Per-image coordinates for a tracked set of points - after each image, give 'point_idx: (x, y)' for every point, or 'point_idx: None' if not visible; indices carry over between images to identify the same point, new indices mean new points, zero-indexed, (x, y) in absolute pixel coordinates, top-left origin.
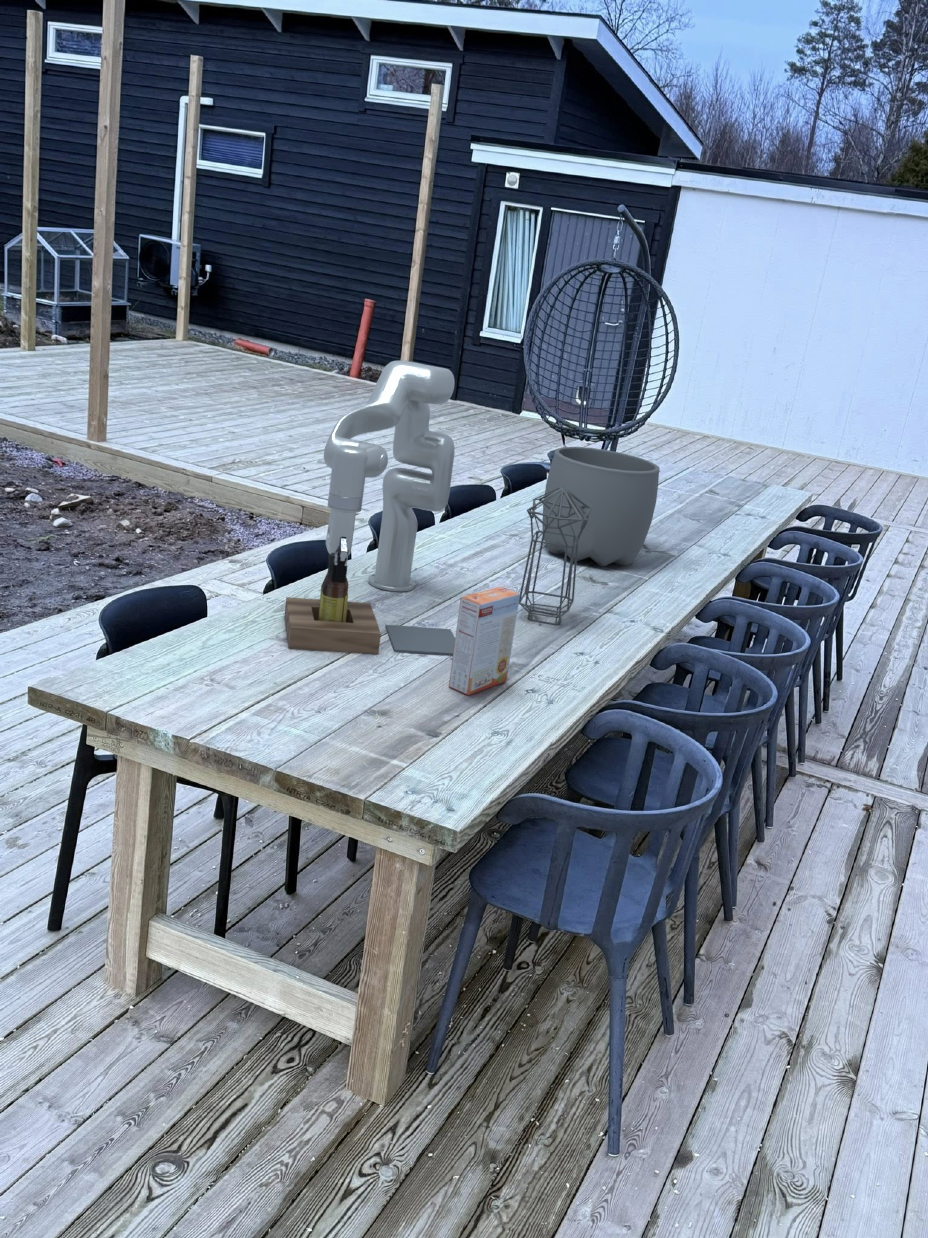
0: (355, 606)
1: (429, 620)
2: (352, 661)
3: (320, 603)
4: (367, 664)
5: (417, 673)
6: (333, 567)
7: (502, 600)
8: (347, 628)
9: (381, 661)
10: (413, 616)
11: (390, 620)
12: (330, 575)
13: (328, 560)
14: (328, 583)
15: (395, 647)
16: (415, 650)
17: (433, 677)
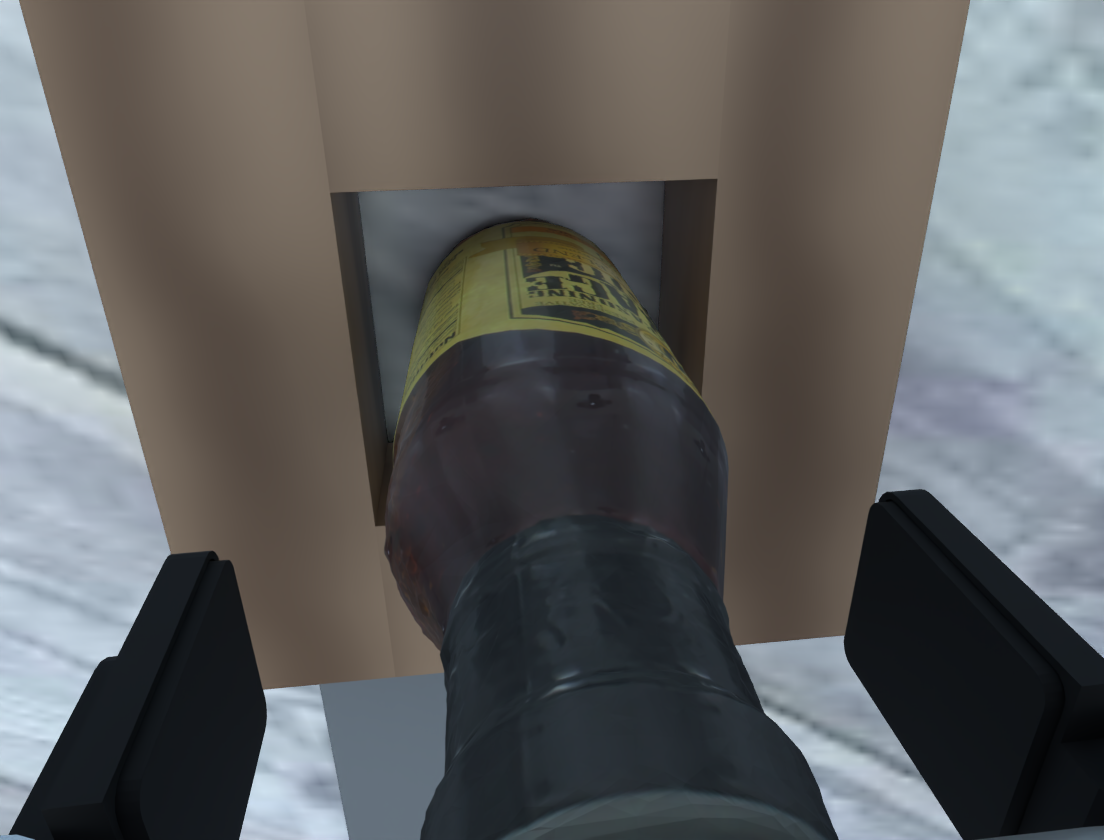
0: (770, 541)
1: (850, 816)
2: (45, 441)
3: (510, 281)
4: (36, 528)
5: (26, 766)
6: (73, 761)
7: None
8: (222, 479)
9: (132, 604)
10: (906, 756)
11: (840, 657)
12: (477, 538)
13: (964, 569)
14: (424, 460)
15: (357, 685)
16: (345, 771)
17: (6, 828)
